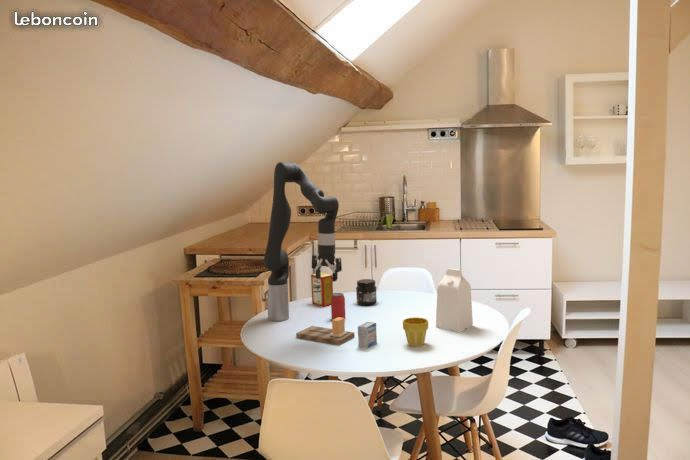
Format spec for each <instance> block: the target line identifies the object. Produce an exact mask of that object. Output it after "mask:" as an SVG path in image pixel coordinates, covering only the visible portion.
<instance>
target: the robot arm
mask: <svg viewBox="0 0 690 460" xmlns="http://www.w3.org/2000/svg"><path fill="white" fill-rule="evenodd" d="M286 183H295V184H297V185H299V187H300V192H301V195H303V196H304V197H305V199H307V200H308V201H309V202H310V204H311V205H312V207H313V209H314V211H315V212H316V213H318V214H325V215H324V217H322V218H320V219H319V220H318V223H317V227H318V228H317V229H318V230H317V232H318V233H317V253H316V254H312V255H311V268H312V269H314V270H315V274H316V278H317V279H319V278H321V273H322V271H321V269H322V268H323V267H328V268H329V269H330V270H331V271H332V274H331V275H332V281H333V282H337V280H338V273H340V272H342V271H343V270H342V269H343V268H342V266H343V265H342V258H341V257H335V256H336V255H335V254H336V234H335V230H336V228H335V227H336V226H335V223H336V219H337V217H338V212H339V208H340V205H339V201H338V199H337V197H335V196H333V195H330V196H325V194H324V191H323V190H322V189H321V188H320V187H319V186H317V185H316V184H315V183H313V181H312V180H311V179H310V178H309V176H308V175H307V174H306V173H305V171H304V170H303V169H302V167H301V166H300V165H299V164H298V163H296V162H292V161H291V162H289V161H279V162H277V163H276V165H275V168H274V173H273V193H272V194H273V195H272V205H271V211H270V220H269V229H268V230H269V231H268V238H267V245H266V248H265V252H264V257H263V264H264V267H265V268H266V269H267V270H268V271H269V272H271V273H270V275H269V277H268V278H267V287H268V289H267V290H268V298H267V300H266V301H267V304H266V305H267V318H268V320H270V321H273V322H275V321H276V322H281V321H287V320H289V318H290V311H289V310H290V308H289V307H290V306H289V287H288V286H289V285H288V279H289V276H290V261H289V256H288V253H287V252H286V251H285V250H284V249H282V245H283V241H284V240H285V237H286V234H287V233H288V231H289V228H290V226H291V225H290V224H291V219H292V218H291V217H292V209H291V205H290V203H289V200H288V198H287V195H286Z"/></svg>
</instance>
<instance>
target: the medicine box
mask: <svg viewBox="0 0 690 460" xmlns="http://www.w3.org/2000/svg"><path fill="white" fill-rule="evenodd" d="M377 334H378V333H377V322H373V321H366V322H364V323H362V324H360V325H358V326H357V340H358V341H357V342H358V343H357V345H358V347H359V348H365V349H368V348H370V347H372V346H374V345H375V344H376V343H377V341H378V340H377V339H378V338H377V337H378V336H377Z"/></svg>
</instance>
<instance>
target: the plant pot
mask: <svg viewBox="0 0 690 460" xmlns="http://www.w3.org/2000/svg"><path fill="white" fill-rule="evenodd" d="M402 329H403V330H404V333H405V338H406V341H407V344H408V345H409V346H411V347H421V346H423V345H424V344H425V341H426V335H427V331H428V329H429V320H428V319H427V318H424V317H418V316H417V317H416V316H415V317H406V318H404V319H403V320H402Z"/></svg>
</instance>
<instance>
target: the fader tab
mask: <svg viewBox="0 0 690 460" xmlns="http://www.w3.org/2000/svg"><path fill="white" fill-rule="evenodd" d="M345 321H346V319H344V318H341V317H338V318H336V319H332V320H331V329H332V333H331V334H330V336H334V337H342V336H344V335H346V334H348V332H349V331H348V332H346V331H347V330H346V329H345V328H346V326H345V323H346V322H345Z"/></svg>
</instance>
